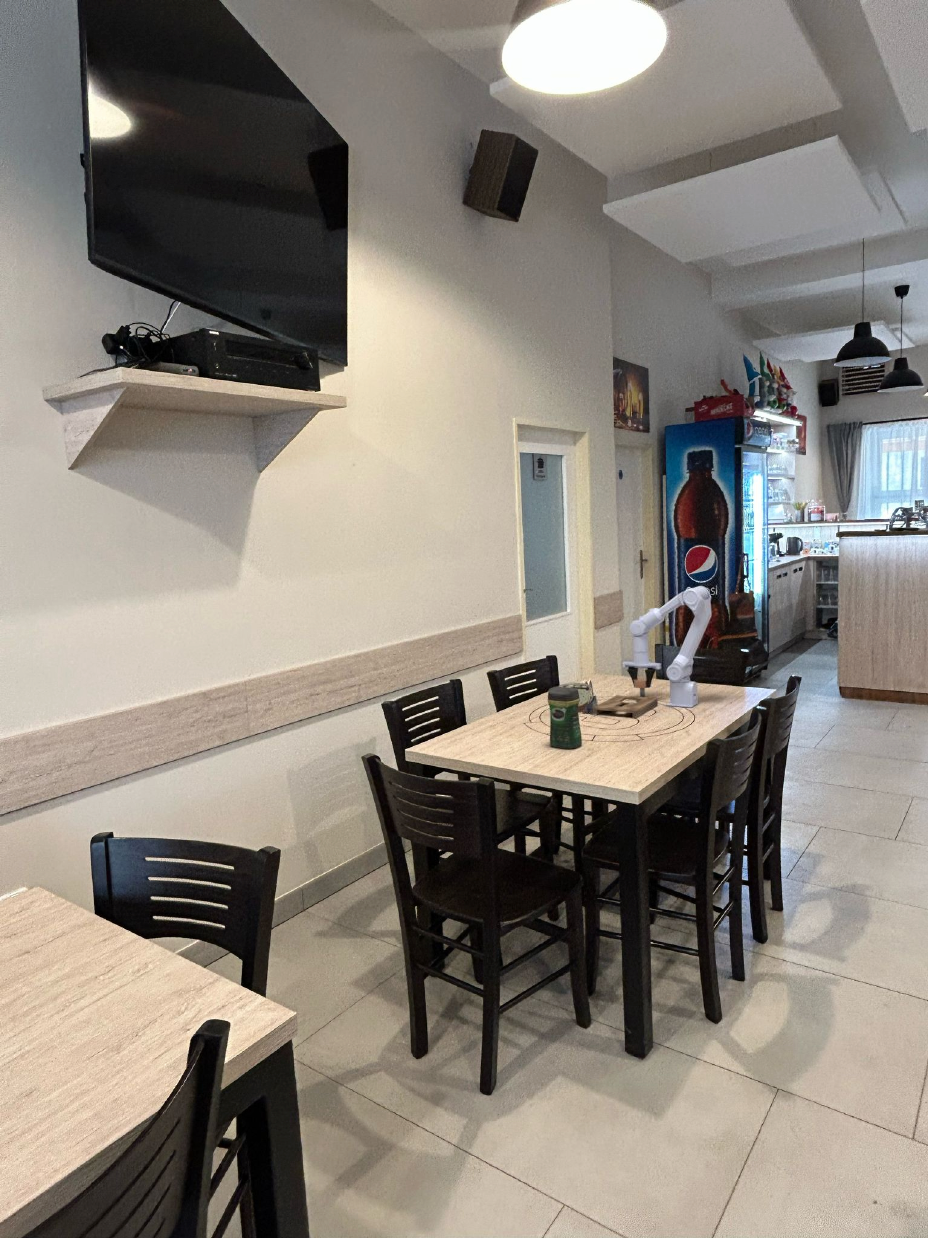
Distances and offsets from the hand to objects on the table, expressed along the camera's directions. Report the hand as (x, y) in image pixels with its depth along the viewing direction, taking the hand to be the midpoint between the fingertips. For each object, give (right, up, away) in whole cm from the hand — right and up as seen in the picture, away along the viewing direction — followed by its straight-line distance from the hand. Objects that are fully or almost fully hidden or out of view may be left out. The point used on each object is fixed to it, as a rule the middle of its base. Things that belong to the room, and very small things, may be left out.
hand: (642, 687), depth 300 cm
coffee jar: (-36, -14, -53) cm, 65 cm away
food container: (-27, -8, -8) cm, 29 cm away
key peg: (0, -5, +1) cm, 5 cm away
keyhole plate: (-9, -7, -12) cm, 17 cm away
